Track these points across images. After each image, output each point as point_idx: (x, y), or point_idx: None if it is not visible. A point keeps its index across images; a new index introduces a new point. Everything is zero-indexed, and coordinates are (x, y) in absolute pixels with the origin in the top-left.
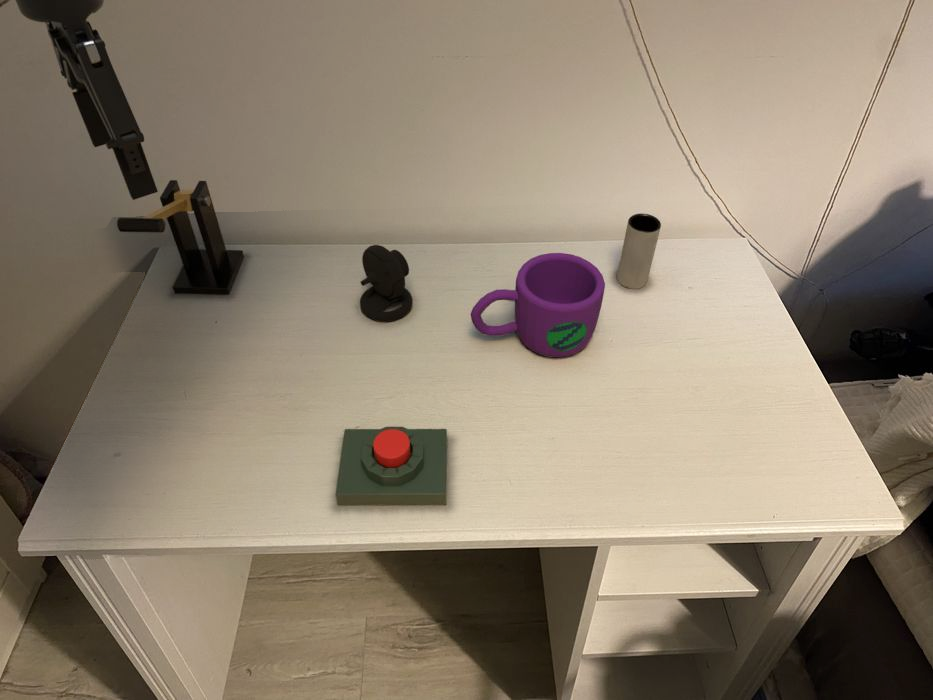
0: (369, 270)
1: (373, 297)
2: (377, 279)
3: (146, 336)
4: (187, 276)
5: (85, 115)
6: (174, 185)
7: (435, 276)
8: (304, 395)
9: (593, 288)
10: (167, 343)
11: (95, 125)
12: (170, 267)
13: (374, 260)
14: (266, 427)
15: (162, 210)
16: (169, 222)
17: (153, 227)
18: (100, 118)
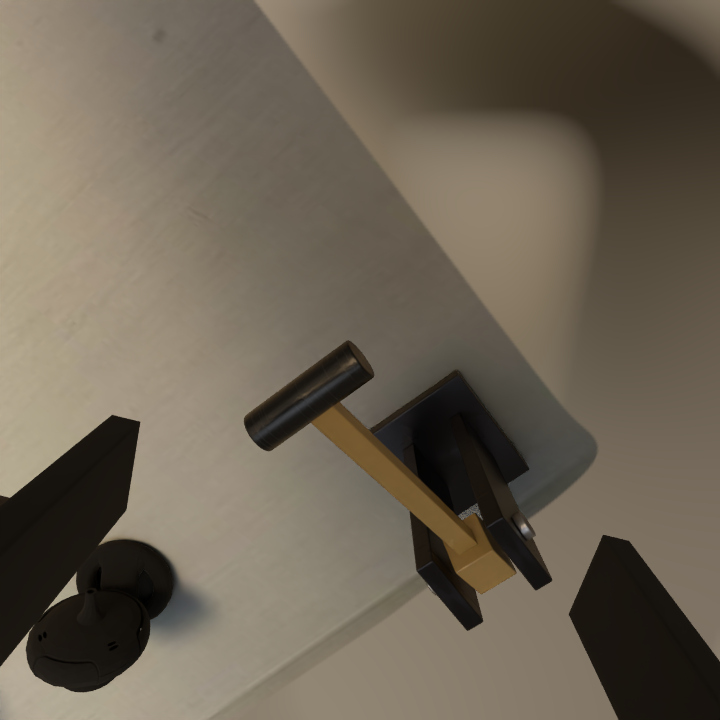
0: (101, 623)
1: (130, 578)
2: (77, 614)
3: (393, 259)
4: (459, 413)
5: (671, 657)
6: (521, 572)
7: (127, 671)
8: (48, 350)
9: None
10: (343, 274)
11: (630, 630)
12: (531, 412)
13: (70, 649)
14: (29, 260)
15: (387, 482)
16: (482, 478)
17: (256, 410)
18: (630, 678)
